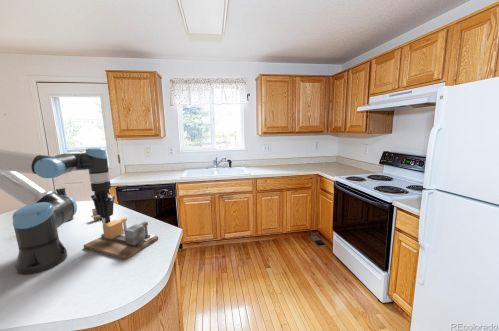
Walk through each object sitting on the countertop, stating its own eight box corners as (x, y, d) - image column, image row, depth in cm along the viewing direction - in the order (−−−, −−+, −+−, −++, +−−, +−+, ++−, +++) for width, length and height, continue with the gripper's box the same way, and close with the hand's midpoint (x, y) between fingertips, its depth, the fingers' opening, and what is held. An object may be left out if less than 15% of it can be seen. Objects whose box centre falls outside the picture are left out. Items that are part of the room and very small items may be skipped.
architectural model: (106, 219, 133) (105, 207, 132) (93, 223, 127) (91, 211, 126) (104, 217, 135) (103, 206, 134) (91, 221, 130) (89, 209, 128)
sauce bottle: (72, 217, 136) (67, 185, 133) (75, 219, 132) (69, 187, 129) (58, 220, 131) (52, 188, 128) (61, 223, 127) (55, 190, 124)
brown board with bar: (125, 259, 90) (122, 238, 88) (84, 248, 99) (80, 228, 98) (158, 239, 106) (156, 221, 105) (120, 230, 116) (118, 214, 114)
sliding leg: (111, 240, 101) (110, 226, 99) (104, 238, 102) (102, 225, 101) (130, 230, 109) (128, 218, 108) (123, 229, 111) (121, 217, 110)
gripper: (118, 180, 103) (124, 228, 107) (99, 178, 107) (105, 224, 111) (102, 184, 96) (109, 235, 100) (82, 182, 100) (90, 230, 104)
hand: (107, 229), depth 105 cm, fingers closed
